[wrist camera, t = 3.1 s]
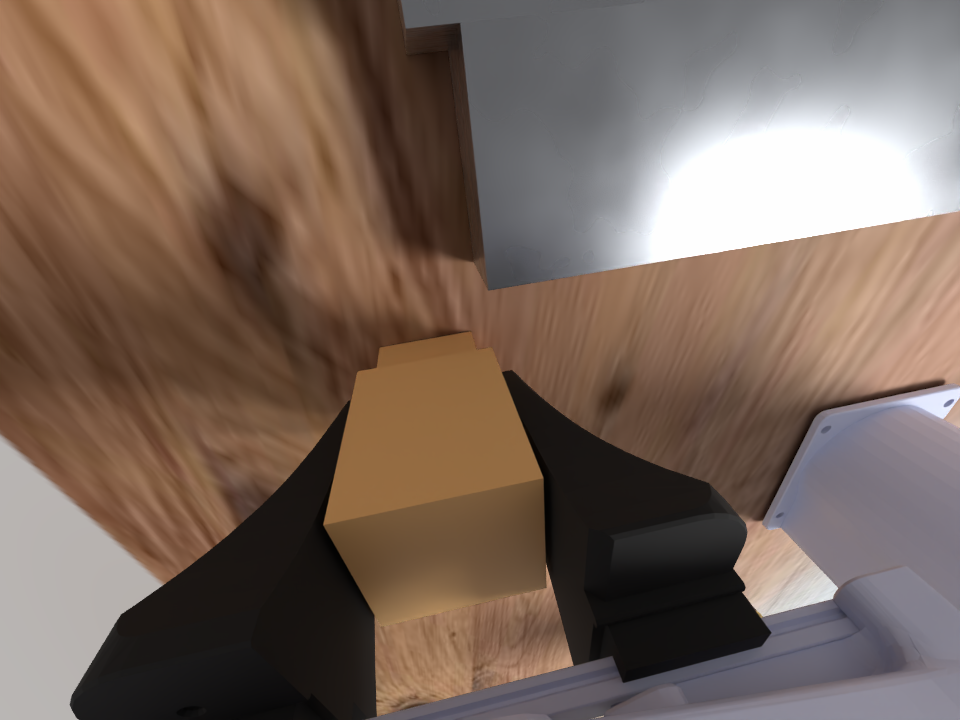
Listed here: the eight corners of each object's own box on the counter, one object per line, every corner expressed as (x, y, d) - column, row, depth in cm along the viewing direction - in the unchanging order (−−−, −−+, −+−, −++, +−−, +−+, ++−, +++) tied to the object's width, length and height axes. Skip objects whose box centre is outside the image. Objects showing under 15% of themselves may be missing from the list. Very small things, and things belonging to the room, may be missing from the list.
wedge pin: (491, 407, 15) (546, 587, 9) (392, 427, 14) (381, 627, 9) (480, 319, 13) (543, 478, 7) (364, 339, 12) (322, 524, 6)
